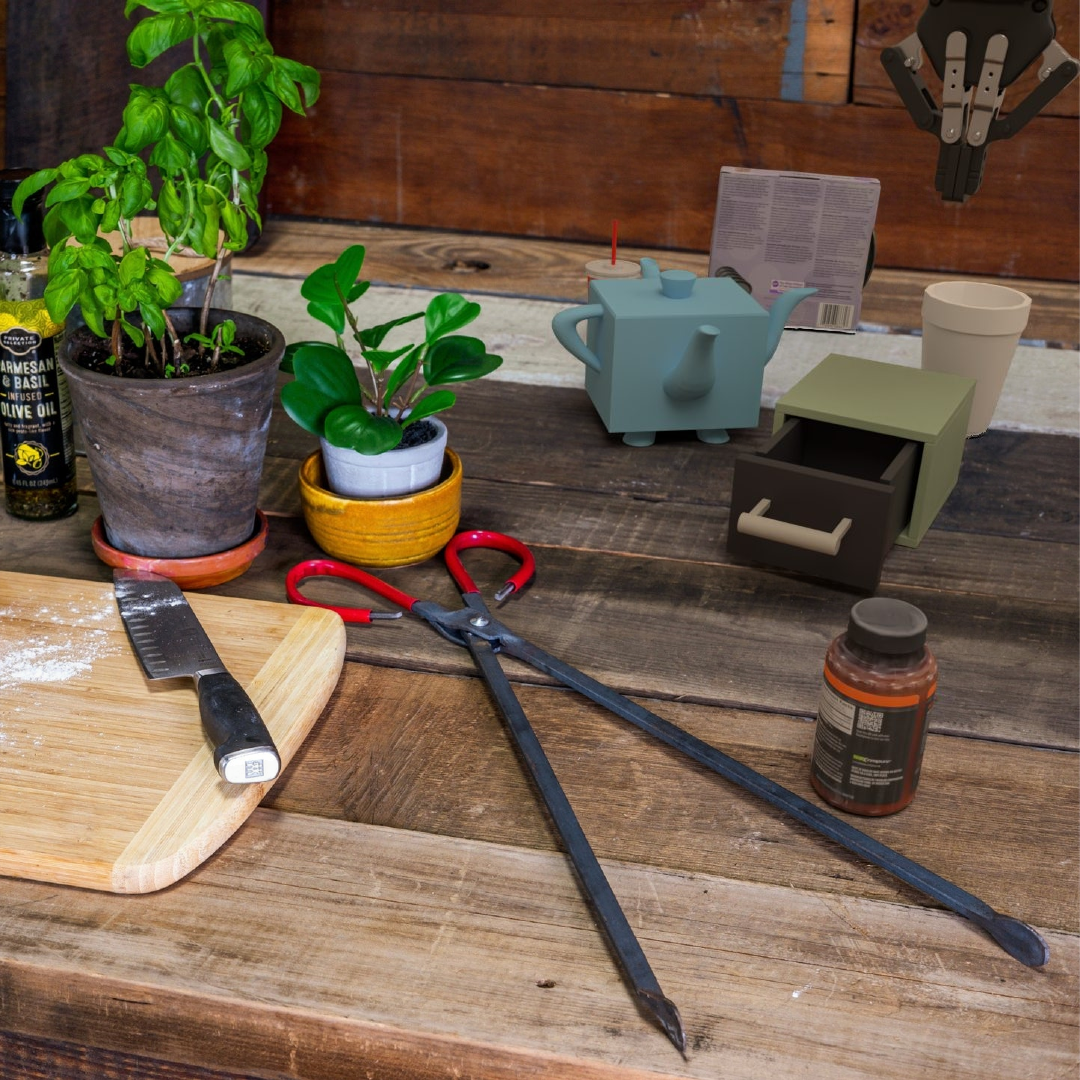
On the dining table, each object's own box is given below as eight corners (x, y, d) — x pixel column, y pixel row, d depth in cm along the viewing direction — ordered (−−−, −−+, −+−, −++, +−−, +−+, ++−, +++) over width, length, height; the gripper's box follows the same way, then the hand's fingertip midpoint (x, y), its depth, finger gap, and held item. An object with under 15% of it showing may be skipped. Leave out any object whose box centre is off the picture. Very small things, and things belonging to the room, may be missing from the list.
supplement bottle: (888, 751, 74) (920, 583, 69) (933, 816, 69) (971, 640, 64) (792, 759, 73) (816, 590, 68) (830, 826, 68) (860, 647, 63)
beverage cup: (616, 358, 137) (623, 229, 131) (570, 346, 140) (575, 220, 134) (646, 344, 142) (655, 219, 135) (602, 333, 145) (608, 211, 139)
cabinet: (916, 549, 98) (937, 434, 94) (762, 512, 103) (775, 402, 99) (956, 483, 109) (977, 378, 105) (816, 453, 115) (830, 352, 110)
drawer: (856, 620, 86) (873, 518, 82) (701, 578, 91) (711, 480, 87) (920, 521, 100) (937, 430, 97) (783, 489, 105) (795, 401, 102)
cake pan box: (864, 324, 151) (886, 173, 143) (866, 336, 147) (889, 182, 139) (704, 312, 154) (717, 163, 146) (701, 323, 149) (715, 171, 141)
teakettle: (533, 430, 118) (537, 275, 111) (638, 377, 132) (647, 237, 125) (711, 482, 108) (726, 316, 102) (804, 419, 122) (823, 269, 115)
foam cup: (931, 447, 117) (955, 311, 111) (886, 411, 125) (907, 282, 119) (1023, 441, 118) (1052, 307, 113) (973, 407, 127) (998, 280, 121)
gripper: (882, -90, 77) (843, 197, 85) (1112, -83, 71) (1048, 224, 79) (912, -89, 83) (873, 180, 91) (1127, -82, 77) (1066, 203, 85)
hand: (955, 200), depth 85 cm, fingers closed
